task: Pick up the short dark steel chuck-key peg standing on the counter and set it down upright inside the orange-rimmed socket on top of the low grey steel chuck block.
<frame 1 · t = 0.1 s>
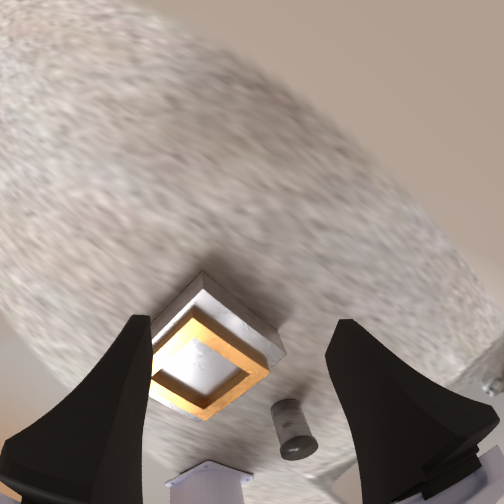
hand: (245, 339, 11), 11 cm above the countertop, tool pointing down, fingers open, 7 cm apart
chuck block: (198, 344, 23), on the countertop
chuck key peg: (285, 408, 27), on the countertop
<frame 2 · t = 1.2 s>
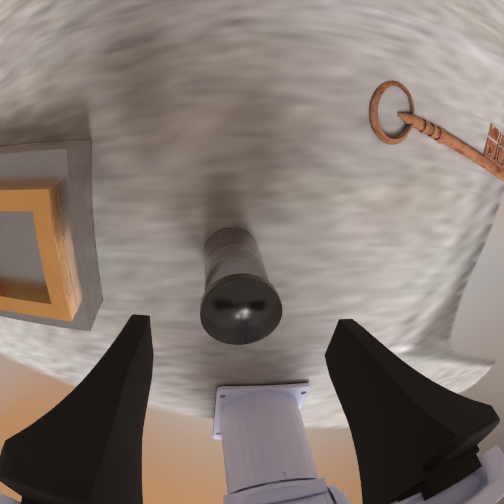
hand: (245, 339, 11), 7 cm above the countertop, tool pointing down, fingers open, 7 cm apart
chuck block: (37, 225, 14), on the countertop
key: (454, 131, 16), on the countertop
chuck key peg: (231, 252, 17), on the countertop
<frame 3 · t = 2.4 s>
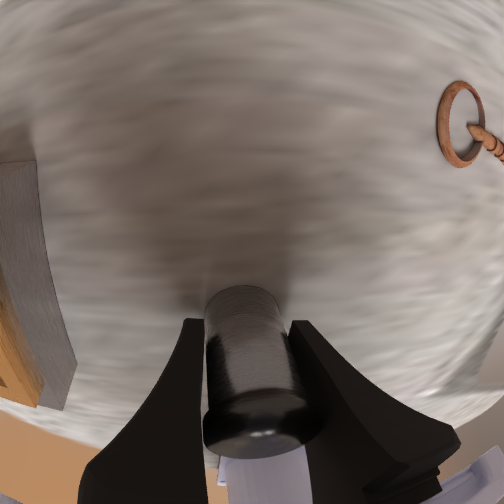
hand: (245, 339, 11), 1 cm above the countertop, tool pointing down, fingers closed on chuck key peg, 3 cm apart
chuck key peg: (241, 315, 12), on the countertop, touching gripper
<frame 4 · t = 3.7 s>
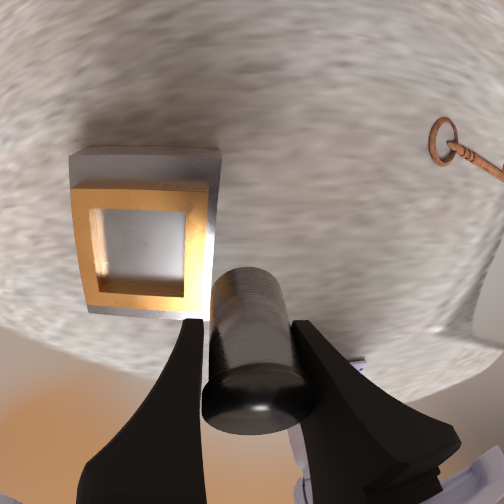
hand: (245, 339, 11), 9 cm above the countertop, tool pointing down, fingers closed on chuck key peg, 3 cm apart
chuck block: (149, 225, 18), on the countertop
key: (482, 153, 19), on the countertop
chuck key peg: (246, 296, 13), point 7 cm above the countertop, touching gripper
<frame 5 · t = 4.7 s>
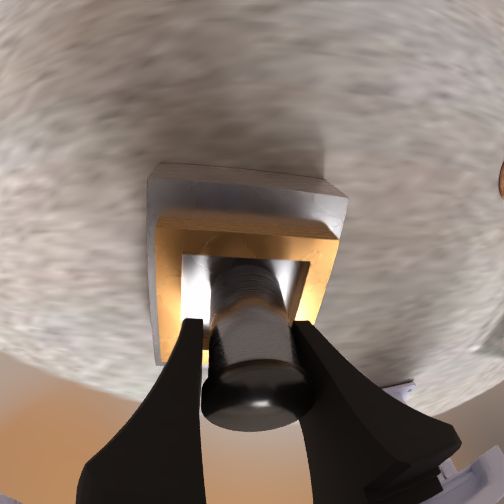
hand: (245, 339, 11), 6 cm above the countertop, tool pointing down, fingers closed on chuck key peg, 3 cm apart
chuck block: (233, 262, 16), on the countertop
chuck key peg: (245, 294, 13), point 3 cm above the countertop, touching gripper
when the fingers open (5 cm above the countertop, at t = 5.1 s): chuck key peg stays where it is, resting on chuck block.
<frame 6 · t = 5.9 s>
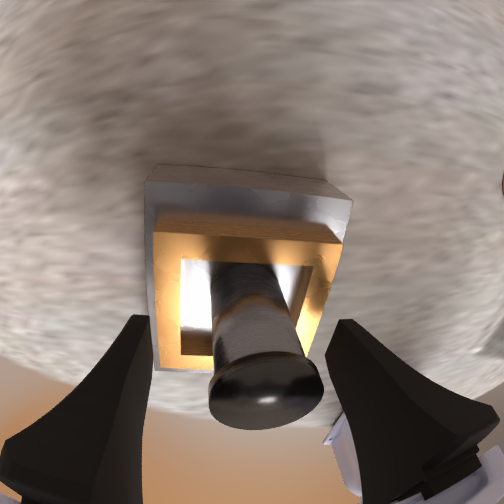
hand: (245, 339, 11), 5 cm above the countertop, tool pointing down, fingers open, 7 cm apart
chuck block: (233, 265, 16), on the countertop
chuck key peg: (245, 293, 13), point 3 cm above the countertop, touching chuck block
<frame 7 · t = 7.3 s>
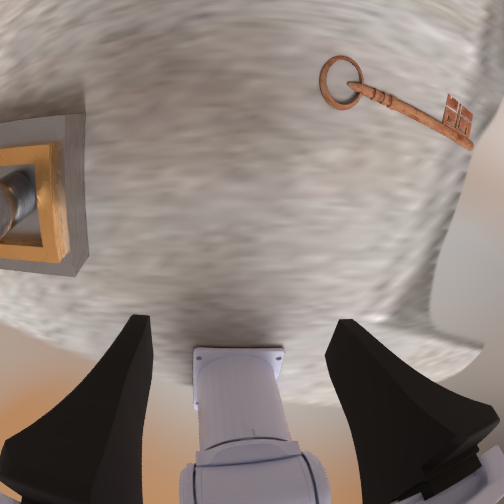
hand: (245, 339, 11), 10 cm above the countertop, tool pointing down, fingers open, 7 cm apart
chuck block: (37, 188, 16), on the countertop
key: (409, 100, 18), on the countertop
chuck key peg: (16, 195, 14), point 3 cm above the countertop, touching chuck block
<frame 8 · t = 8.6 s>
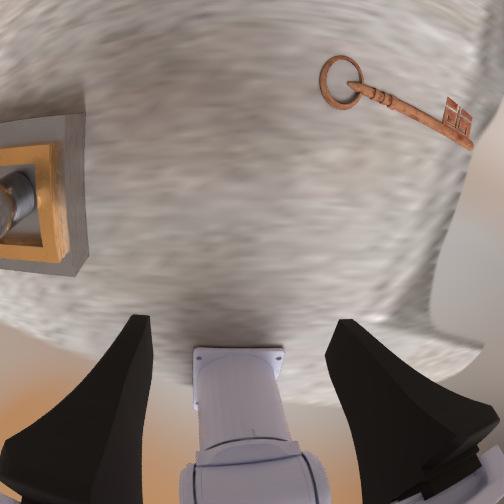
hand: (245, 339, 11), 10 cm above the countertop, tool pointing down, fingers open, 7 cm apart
chuck block: (37, 188, 16), on the countertop
key: (409, 100, 18), on the countertop
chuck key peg: (16, 195, 14), point 3 cm above the countertop, touching chuck block
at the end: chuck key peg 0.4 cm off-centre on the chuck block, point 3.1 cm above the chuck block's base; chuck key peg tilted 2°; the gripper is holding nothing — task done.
